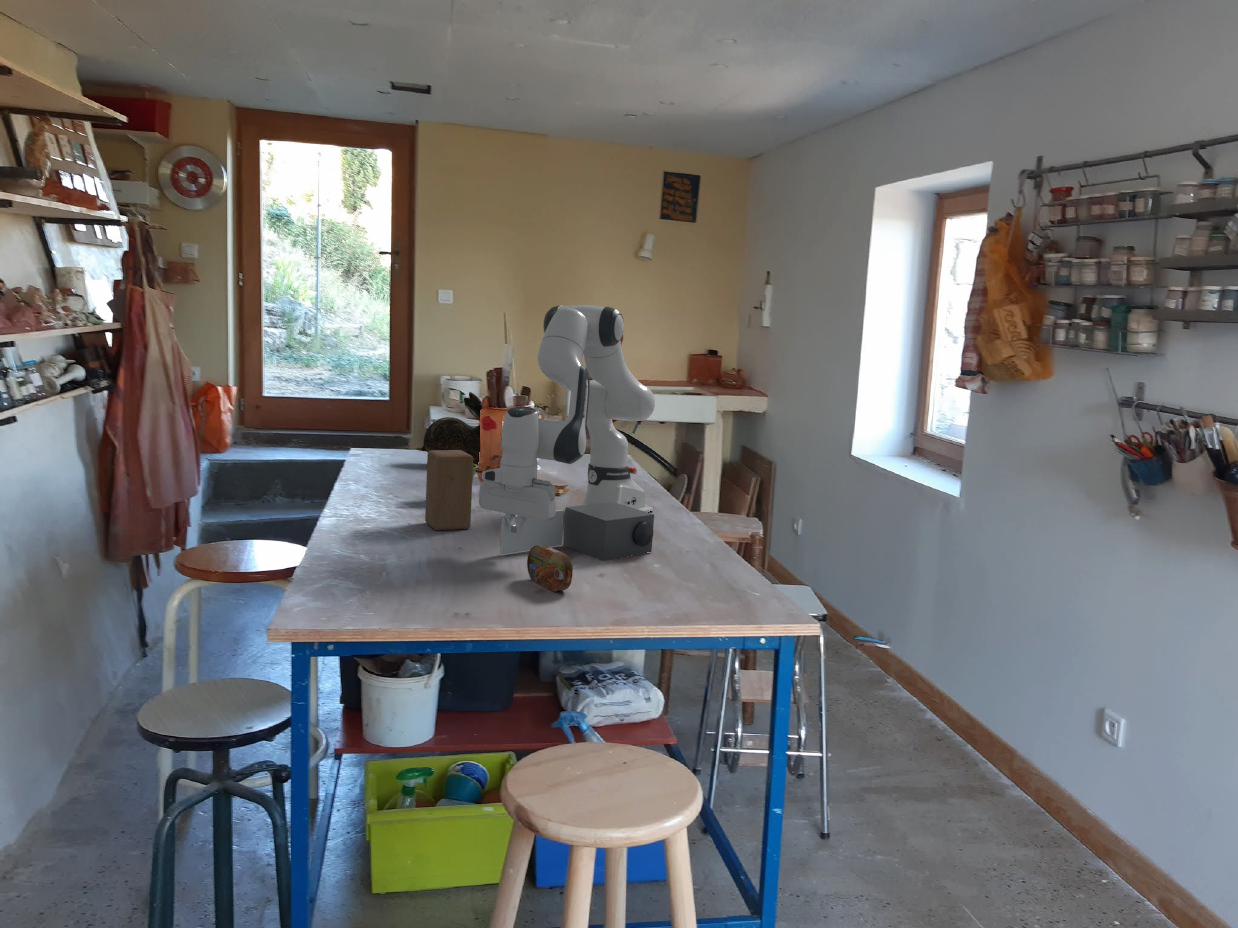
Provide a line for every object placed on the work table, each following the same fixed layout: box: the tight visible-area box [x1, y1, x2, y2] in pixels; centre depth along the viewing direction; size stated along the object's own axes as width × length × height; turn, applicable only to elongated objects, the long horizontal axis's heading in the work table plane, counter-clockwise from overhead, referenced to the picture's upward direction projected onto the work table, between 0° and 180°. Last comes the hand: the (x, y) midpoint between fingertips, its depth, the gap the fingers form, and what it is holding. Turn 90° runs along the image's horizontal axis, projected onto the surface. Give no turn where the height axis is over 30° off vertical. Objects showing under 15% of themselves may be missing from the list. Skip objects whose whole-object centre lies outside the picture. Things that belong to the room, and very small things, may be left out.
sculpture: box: [416, 391, 484, 466], centre depth 337 cm, size 19×29×27 cm, turn 57°
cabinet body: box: [562, 502, 655, 561], centre depth 240 cm, size 16×17×10 cm
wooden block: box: [424, 450, 473, 532], centre depth 252 cm, size 10×10×20 cm
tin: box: [526, 545, 574, 593], centre depth 207 cm, size 15×3×8 cm, turn 36°
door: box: [499, 509, 565, 555], centre depth 234 cm, size 2×18×9 cm, turn 133°
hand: (515, 532), depth 227 cm, fingers closed
